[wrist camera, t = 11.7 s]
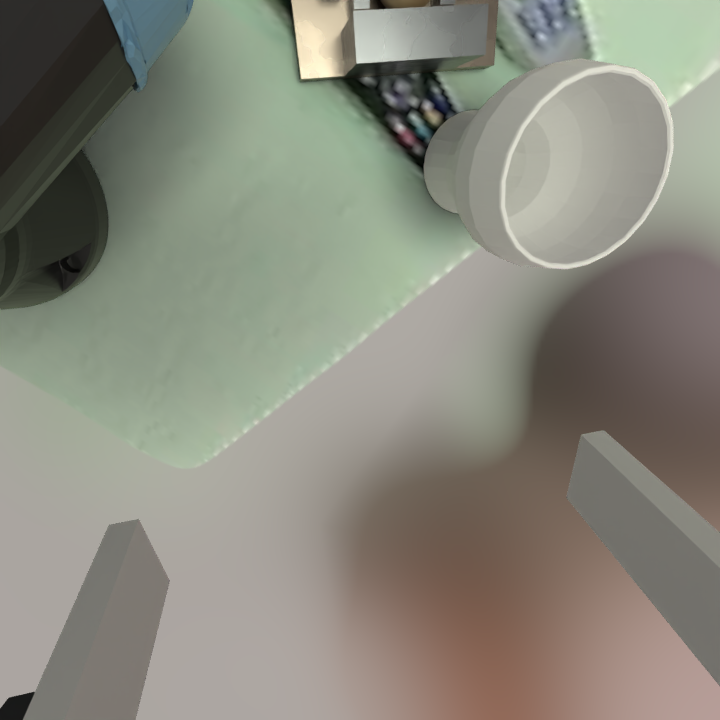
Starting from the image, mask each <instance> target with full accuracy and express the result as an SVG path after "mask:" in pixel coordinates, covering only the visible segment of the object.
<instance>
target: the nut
mask: <svg viewBox="0 0 720 720" xmlns="http://www.w3.org/2000/svg"><path fill="white" fill-rule="evenodd" d="M429 1H430V0H381V2H382V3H383V5H384V6H385V7H386V8H387V9H396V8H415V7H425V6H426V5H427V4H428V2H429Z"/></svg>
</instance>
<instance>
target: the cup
mask: <svg viewBox="0 0 720 720" xmlns="http://www.w3.org/2000/svg"><path fill="white" fill-rule="evenodd" d="M672 153H673V121H672V117H671V114H670V110H669V106H668V103H667V100H666V98H665V97H664V95H663V94H662V93H661V91H660V90H659V88H658V87H657V85H656V84H655V82H654V81H653V80H652V79H650V78H649V77H647V76H646V75H644V74H643V73H641V72H640V71H638V70H637V69H635V68H631V67H626V66H621V65H616V64H610V63H604V62H598V61H592V60H586V59H575V60H569V61H563V62H557V63H552V64H549V65H546V66H543V67H539V68H536V69H533V70H531V71H529V72H527V73H525V74H523V75H521V76H519V77H517V78H515V79H513V80H511V81H509V82H508V83H507V84H506V85H505V86H503V87H502V88H501V89H500V90H499V91H498V92H497V93H496V94H494V95H493V96H492V97H491V98H490V99H489V100H488V101H487V102H486V103H485V104H484V105H483V106H482V107H481V109H480V110H469V111H464V112H460V113H458V114H456V115H454V116H452V117H450V118H449V119H448V120H447V121H446V122H444V123H443V124H442V125H441V126H440V127H439V128H438V130H437V131H436V133H435V134H434V135H433V137H432V138H431V140H430V143H429V145H428V148H427V150H426V154H425V160H424V180H425V183H426V186H427V189H428V192H429V193H430V195H431V197H432V198H433V200H434V201H435V202H436V203H437V204H438V205H439V206H441V207H442V208H443V209H445V210H448V211H450V212H452V213H458V214H459V216H460V218H461V220H462V222H463V224H464V225H465V227H466V228H467V230H468V232H469V233H470V235H471V236H472V238H473V239H474V240H475V241H476V242H477V243H478V244H480V245H481V246H482V247H483V248H484V249H485V250H487V251H488V252H490V253H492V254H494V255H496V256H498V257H499V258H501V259H503V260H506V261H508V262H511V263H513V264H516V265H519V266H526V267H540V268H555V269H570V268H574V267H579V266H584V265H587V264H589V263H592V262H594V261H596V260H598V259H600V258H602V257H604V256H606V255H608V254H609V253H611V252H612V251H613V250H615V249H616V248H617V247H618V246H620V245H621V244H623V243H624V242H625V241H626V240H627V239H628V238H629V237H630V236H631V235H632V234H633V233H634V232H635V231H636V229H637V228H638V227H639V226H640V225H641V224H642V223H643V222H644V220H645V219H646V217H647V216H648V214H649V213H650V211H651V209H652V208H653V206H654V205H655V203H656V201H657V200H658V198H659V195H660V193H661V191H662V188H663V186H664V183H665V181H666V178H667V176H668V173H669V168H670V163H671V158H672Z"/></svg>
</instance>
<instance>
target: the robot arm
mask: <svg viewBox="0 0 720 720" xmlns="http://www.w3.org/2000/svg"><path fill="white" fill-rule="evenodd" d="M192 5H193V0H0V309H12V308H23V307H29V306H34V305H38V304H41V303H44V302H47V301H50V300H53V299H55V298H57V297H59V296H61V295H63V294H64V293H66V292H68V291H69V290H70V289H72V288H73V287H75V286H76V285H78V284H79V283H80V282H82V281H83V280H84V279H85V278H86V277H87V276H88V275H89V274H90V273H91V272H92V271H93V270H94V268H95V267H96V265H97V264H98V262H99V260H100V258H101V256H102V254H103V251H104V248H105V245H106V241H107V235H108V214H107V207H106V202H105V198H104V194H103V191H102V188H101V185H100V183H99V180H98V178H97V176H96V174H95V172H94V170H93V168H92V166H91V164H90V162H89V161H88V159H87V158H86V156H85V155H84V153H83V152H82V150H81V148H82V147H83V146H84V145H85V143H86V142H87V141H88V140H89V139H90V138H91V137H92V135H93V134H94V133H95V132H96V131H97V130H98V128H99V127H100V126H101V125H102V124H103V123H104V121H105V120H106V119H107V118H108V117H109V116H110V114H111V113H112V112H113V111H114V110H115V109H116V107H117V106H118V105H119V104H120V103H121V102H122V100H123V99H124V98H125V97H126V96H127V95H128V94H129V92H130V91H131V90H132V89H134V90H135V91H137V92H140V91H141V90H142V89H143V88H144V87H145V85H146V83H147V78H148V73H147V72H148V71H149V69H150V68H151V67H152V65H153V64H154V63H155V61H156V60H157V59H158V58H159V56H160V55H161V54H162V52H163V51H164V50H165V48H166V47H167V46H168V44H169V43H170V42H171V41H172V39H173V38H174V37H175V35H176V34H177V33H178V31H179V30H180V29H181V28H182V26H183V25H184V24H185V22H186V20H187V19H188V16H189V14H190V11H191V9H192ZM567 499H568V500H569V501H570V503H571V504H572V505H573V506H574V508H575V509H576V510H577V511H578V513H579V514H580V515H581V516H582V517H583V519H584V520H585V521H586V522H587V524H588V525H589V526H590V527H591V529H592V530H593V531H594V532H595V533H596V535H597V536H598V537H599V538H600V540H601V541H602V542H603V543H604V544H605V546H606V547H607V548H608V549H609V551H610V552H611V553H612V554H613V556H614V557H615V558H616V559H617V560H618V562H619V563H620V564H621V565H622V567H623V568H624V569H625V570H626V572H627V573H628V574H629V575H630V576H631V578H632V579H633V580H634V581H635V583H636V584H637V585H638V586H639V587H640V589H641V590H642V591H643V592H644V594H645V595H646V596H647V597H648V598H649V600H650V601H651V602H652V603H653V605H654V606H655V607H656V608H657V610H658V611H659V612H660V613H661V614H662V616H663V617H664V618H665V619H666V621H667V622H668V623H669V624H670V625H671V627H672V628H673V629H674V630H675V632H676V633H677V634H678V635H679V637H680V638H681V639H682V640H683V641H684V643H685V644H686V645H687V646H688V648H689V649H690V650H691V651H692V653H693V654H694V655H695V656H696V657H697V659H698V660H699V661H700V662H701V664H702V665H703V666H704V667H705V668H706V670H707V671H708V672H709V673H710V675H711V676H712V677H713V678H714V680H715V681H716V682H717V683H718V684H719V686H720V532H719V531H717V530H716V529H715V528H714V527H713V526H712V525H711V524H709V523H708V522H707V521H706V520H705V519H703V517H701V516H700V515H699V514H698V513H697V512H696V511H694V509H692V508H691V507H690V506H689V505H688V504H687V503H686V502H684V501H683V500H682V499H681V498H680V497H679V496H678V495H676V494H675V493H674V492H673V491H672V490H671V489H670V488H668V487H667V486H666V485H665V484H664V483H663V482H662V481H661V480H659V479H658V478H657V477H656V476H655V475H654V474H653V473H651V472H650V471H649V470H648V469H647V468H646V467H645V466H644V465H642V464H641V463H640V462H639V461H638V460H637V459H636V458H634V457H633V456H632V455H631V454H630V453H629V452H628V451H627V450H625V449H624V448H623V447H622V446H621V445H620V444H619V443H617V442H616V441H615V440H614V439H613V438H612V437H611V436H610V435H608V434H607V433H606V432H605V431H598V432H592V433H588V434H582V435H581V438H580V442H579V446H578V450H577V455H576V459H575V463H574V467H573V471H572V476H571V480H570V484H569V489H568V493H567ZM169 581H170V580H169V578H168V577H167V575H166V572H165V570H164V569H163V566H162V564H161V562H160V560H159V559H158V557H157V555H156V553H155V551H154V549H153V547H152V545H151V543H150V541H149V539H148V537H147V535H146V533H145V531H144V529H143V527H142V525H141V523H140V521H139V520H138V519H137V520H132V521H127V522H122V523H116V524H112V525H109V526H108V529H107V531H106V533H105V535H104V538H103V540H102V542H101V544H100V547H99V549H98V551H97V553H96V556H95V558H94V560H93V563H92V565H91V567H90V569H89V571H88V574H87V576H86V578H85V581H84V583H83V585H82V587H81V590H80V592H79V594H78V596H77V599H76V601H75V603H74V605H73V608H72V610H71V613H70V615H69V617H68V619H67V621H66V624H65V626H64V628H63V630H62V632H61V635H60V637H59V639H58V641H57V644H56V646H55V649H54V651H53V653H52V655H51V657H50V660H49V662H48V664H47V667H46V669H45V671H44V673H43V675H42V678H41V680H40V682H39V684H38V687H37V689H36V691H35V692H32V693H27V694H23V695H19V696H14V697H10V698H8V699H7V701H6V702H5V703H4V705H3V706H2V707H1V708H0V720H135V719H136V716H137V711H138V707H139V703H140V699H141V695H142V691H143V687H144V683H145V679H146V675H147V671H148V667H149V663H150V659H151V655H152V651H153V647H154V643H155V638H156V634H157V630H158V626H159V622H160V618H161V614H162V610H163V606H164V602H165V598H166V594H167V590H168V586H169Z"/></svg>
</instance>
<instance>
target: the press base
mask: <svg viewBox="0 0 720 720" xmlns="http://www.w3.org/2000/svg"><path fill="white" fill-rule="evenodd" d="M290 4H291V12H292V20H293V28H294V36H295V44H296V52H297V60H298V68H299V76H300V82H307V81H320V80H334V79H347V78H361V77H375V76H388V75H402V74H415V73H429V72H443V71H456V70H470V69H484V68H487V67H490V66H493V65H494V57H495V42H496V27H497V12H498V0H430V1H429V2H428V4H427V5H426V6H425V7H415V8H396V9H387V8H386V7H385V6H384V5H383V3H382V2H381V0H290Z"/></svg>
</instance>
